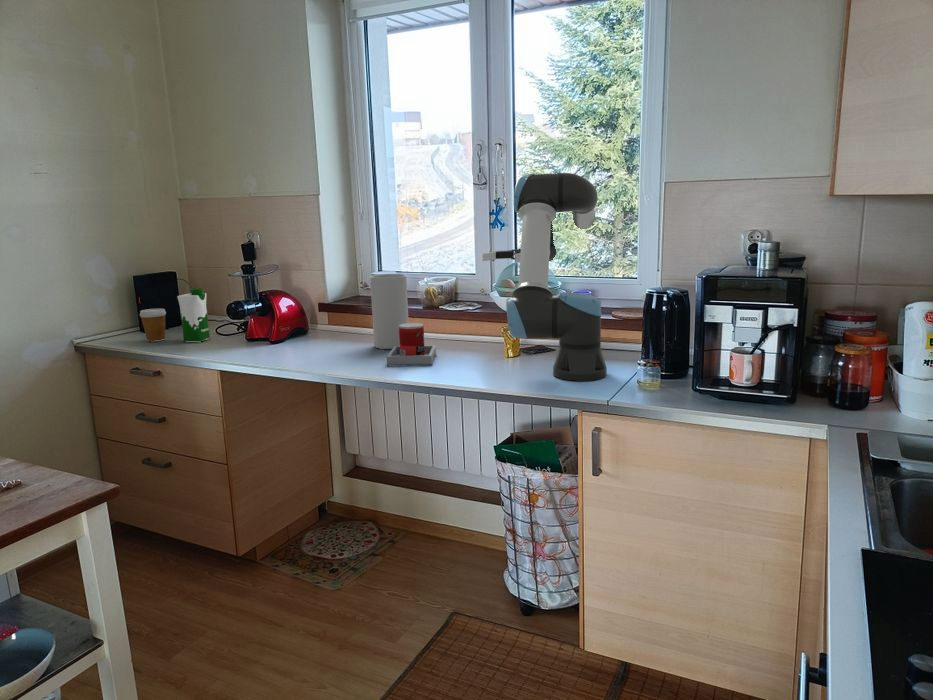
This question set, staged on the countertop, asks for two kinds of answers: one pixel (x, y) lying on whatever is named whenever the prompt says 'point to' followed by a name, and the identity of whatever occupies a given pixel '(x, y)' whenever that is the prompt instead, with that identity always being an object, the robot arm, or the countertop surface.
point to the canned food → (411, 339)
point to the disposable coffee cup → (153, 323)
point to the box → (411, 357)
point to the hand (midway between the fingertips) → (499, 257)
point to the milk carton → (194, 315)
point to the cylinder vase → (388, 308)
